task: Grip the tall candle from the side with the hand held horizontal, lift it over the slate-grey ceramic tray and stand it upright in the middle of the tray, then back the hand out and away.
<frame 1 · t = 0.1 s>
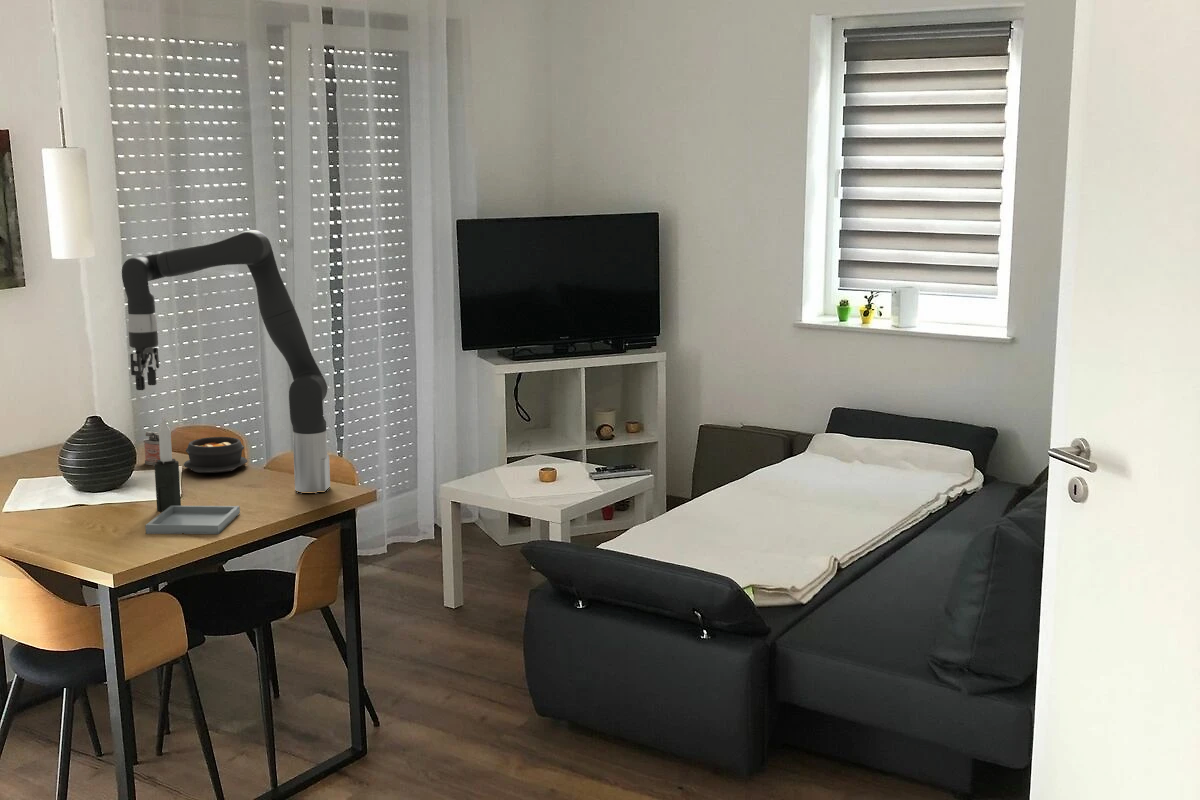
hand: (146, 387, 334), 29 cm above the table, tool pointing down, fingers open, 8 cm apart
casserole: (216, 469, 364), on the table
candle: (169, 510, 319), on the table
lighter: (156, 464, 369), on the table
tray: (194, 523, 306), on the table
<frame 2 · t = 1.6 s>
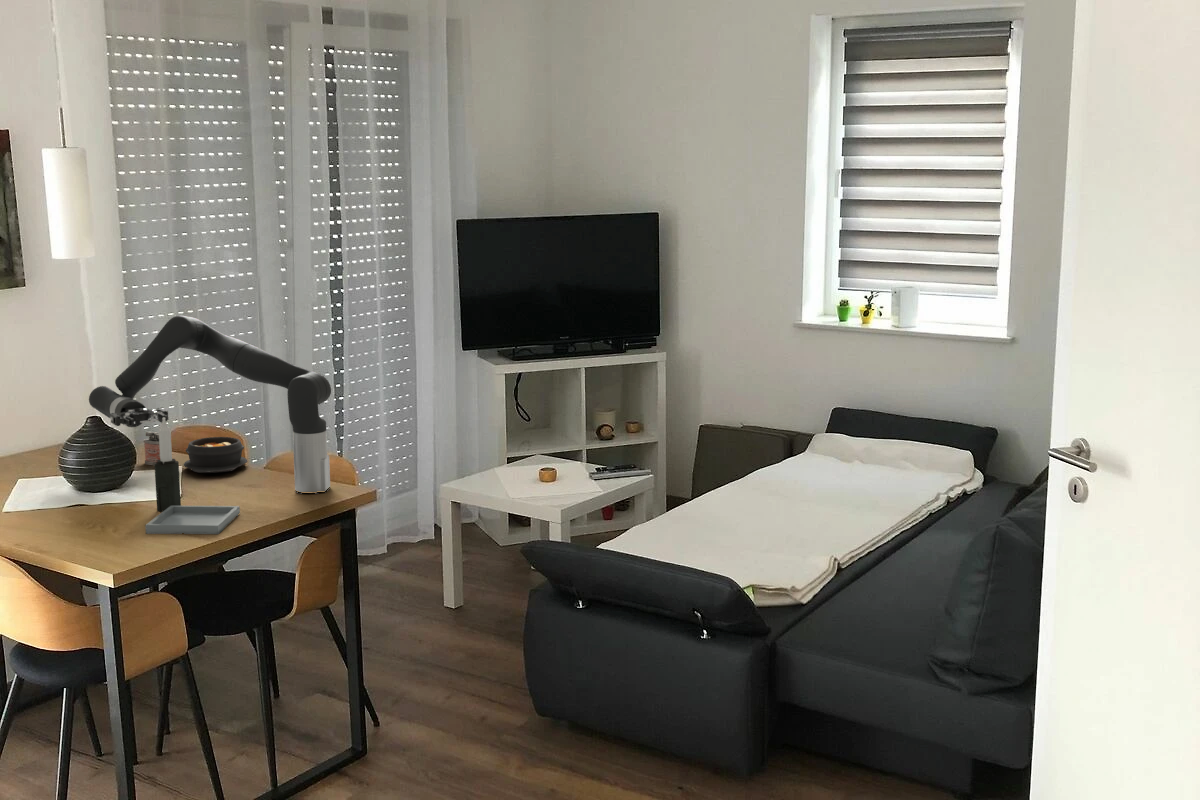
hand: (148, 421, 323), 22 cm above the table, tool horizontal, fingers open, 8 cm apart
nothing on the table moved.
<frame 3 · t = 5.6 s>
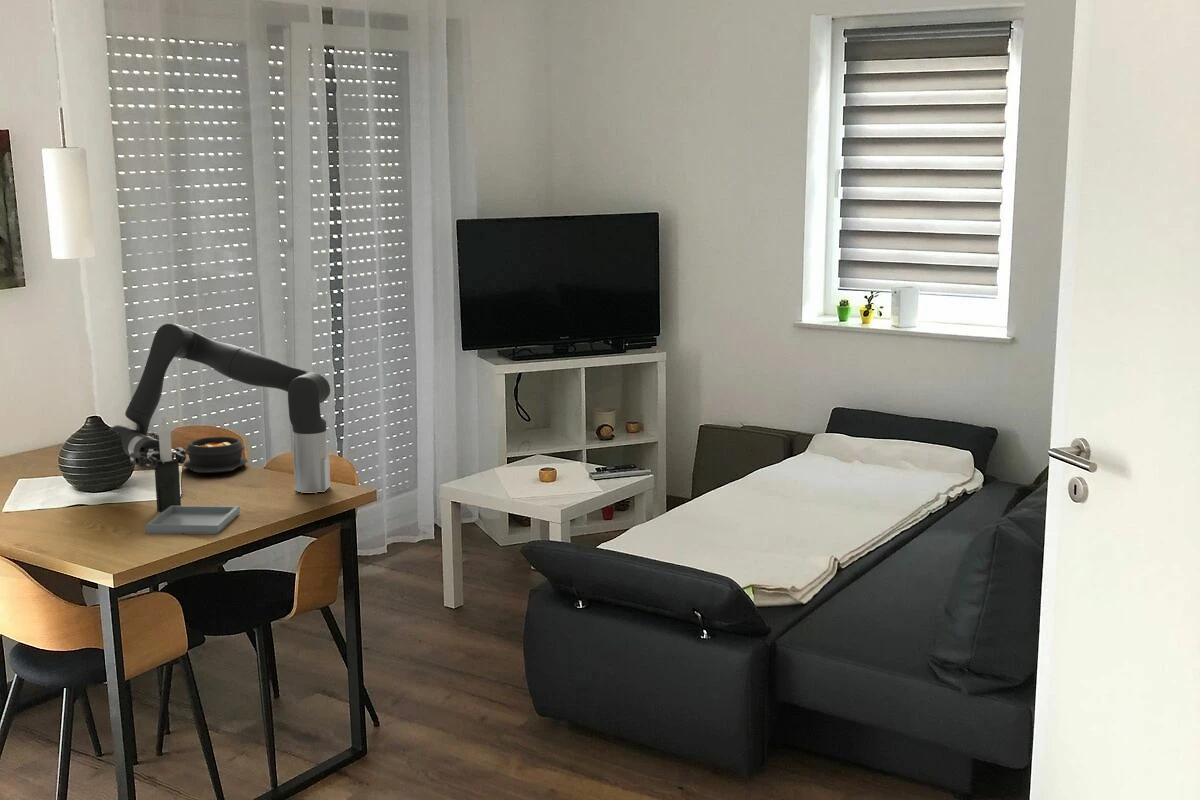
hand: (169, 461, 315), 14 cm above the table, tool horizontal, fingers closed on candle, 6 cm apart
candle: (169, 510, 319), on the table, touching gripper
everything else where it was.
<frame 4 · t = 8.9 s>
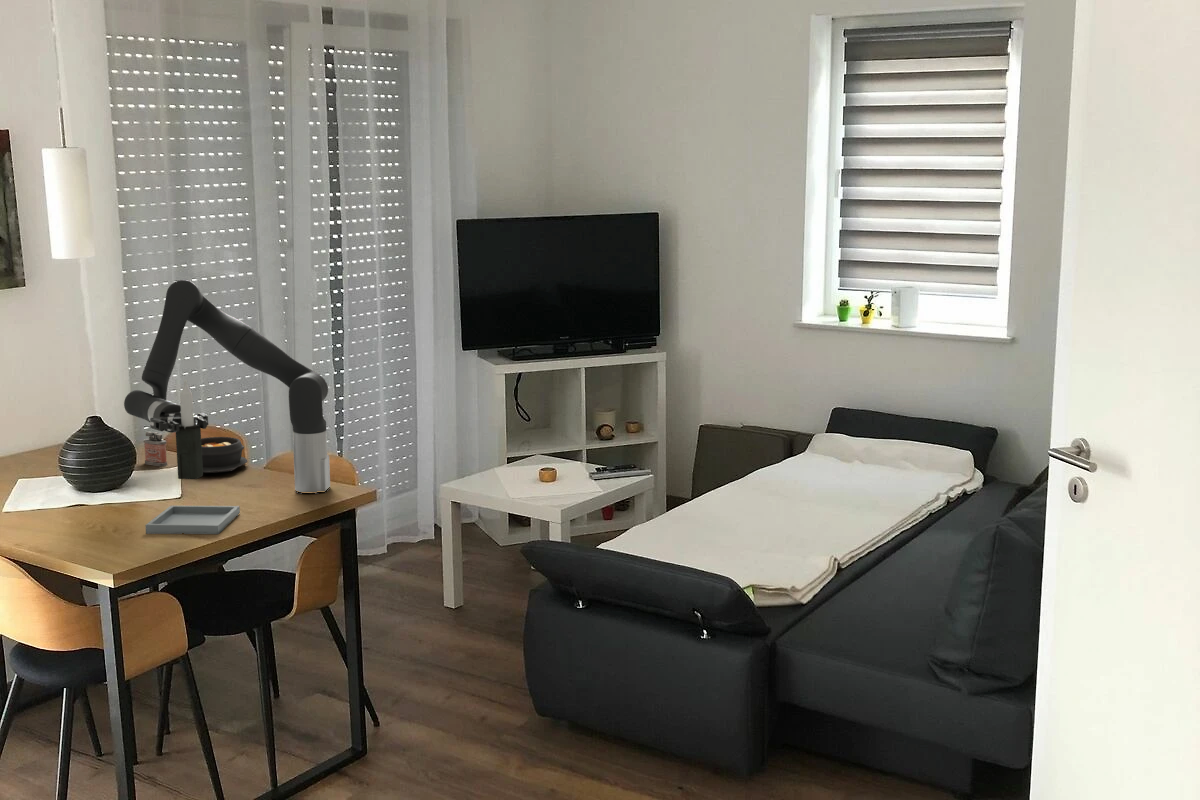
hand: (191, 426, 300), 26 cm above the table, tool horizontal, fingers closed on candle, 6 cm apart
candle: (190, 477, 304), point 12 cm above the table, touching gripper
everything else where it was.
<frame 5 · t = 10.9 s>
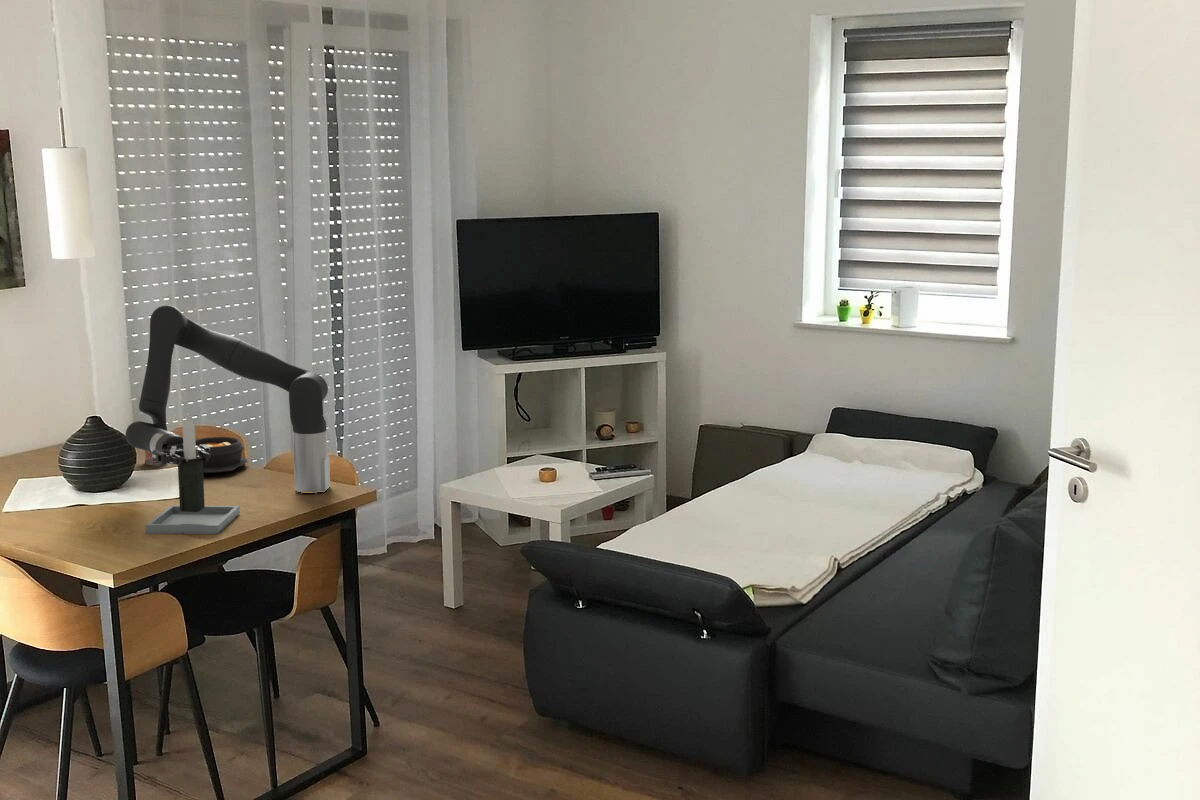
hand: (193, 459, 301), 17 cm above the table, tool horizontal, fingers closed on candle, 6 cm apart
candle: (192, 509, 306), point 4 cm above the table, touching gripper
everything else where it was.
when the fingers open (15 cm above the table, at t = 12.5 s): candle stays where it is, resting on tray.
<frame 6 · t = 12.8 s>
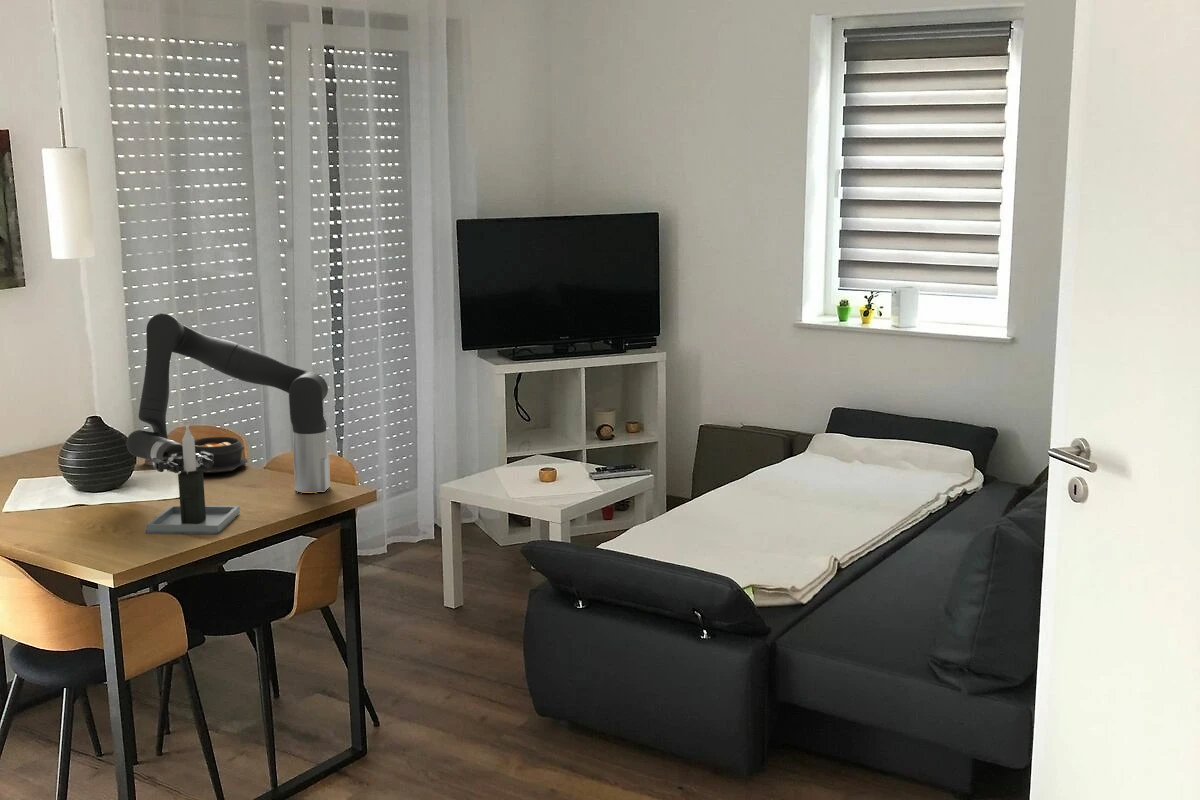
hand: (194, 466, 302), 15 cm above the table, tool horizontal, fingers open, 8 cm apart
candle: (193, 521, 306), resting on tray
everything else where it was.
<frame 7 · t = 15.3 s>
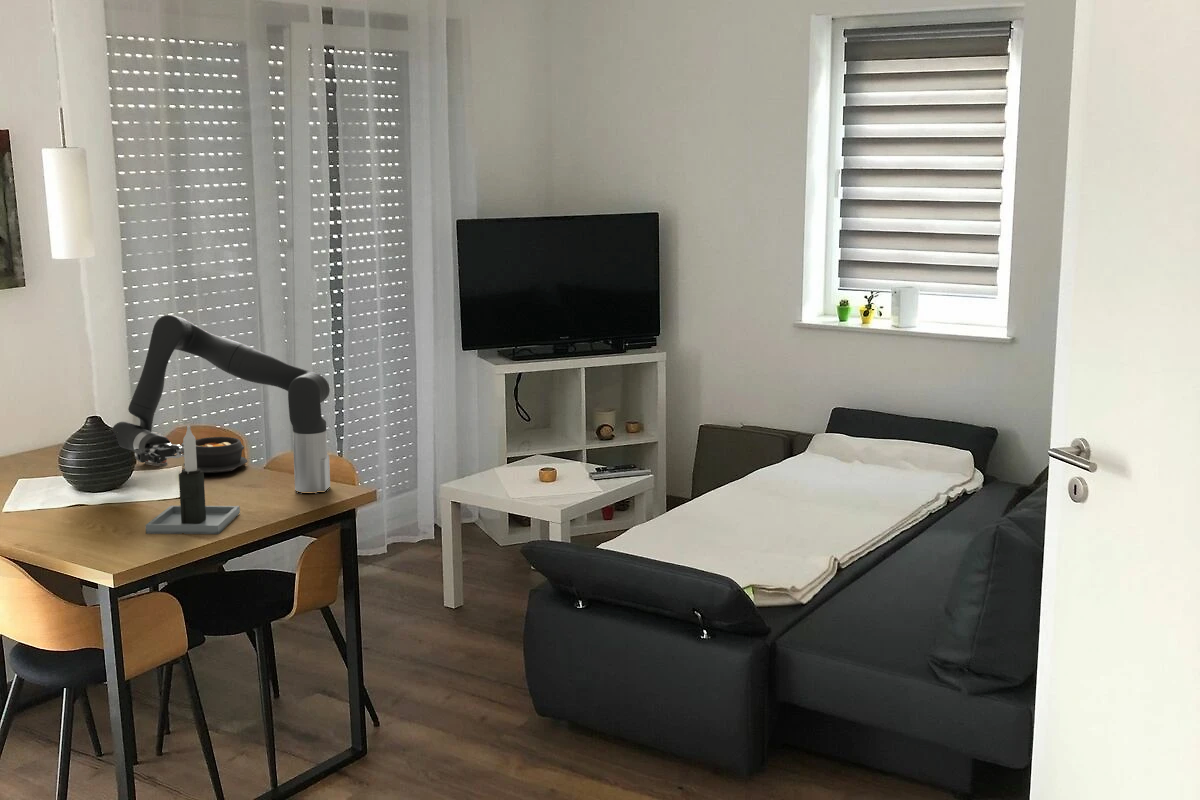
hand: (174, 457, 311), 15 cm above the table, tool horizontal, fingers open, 8 cm apart
nothing on the table moved.
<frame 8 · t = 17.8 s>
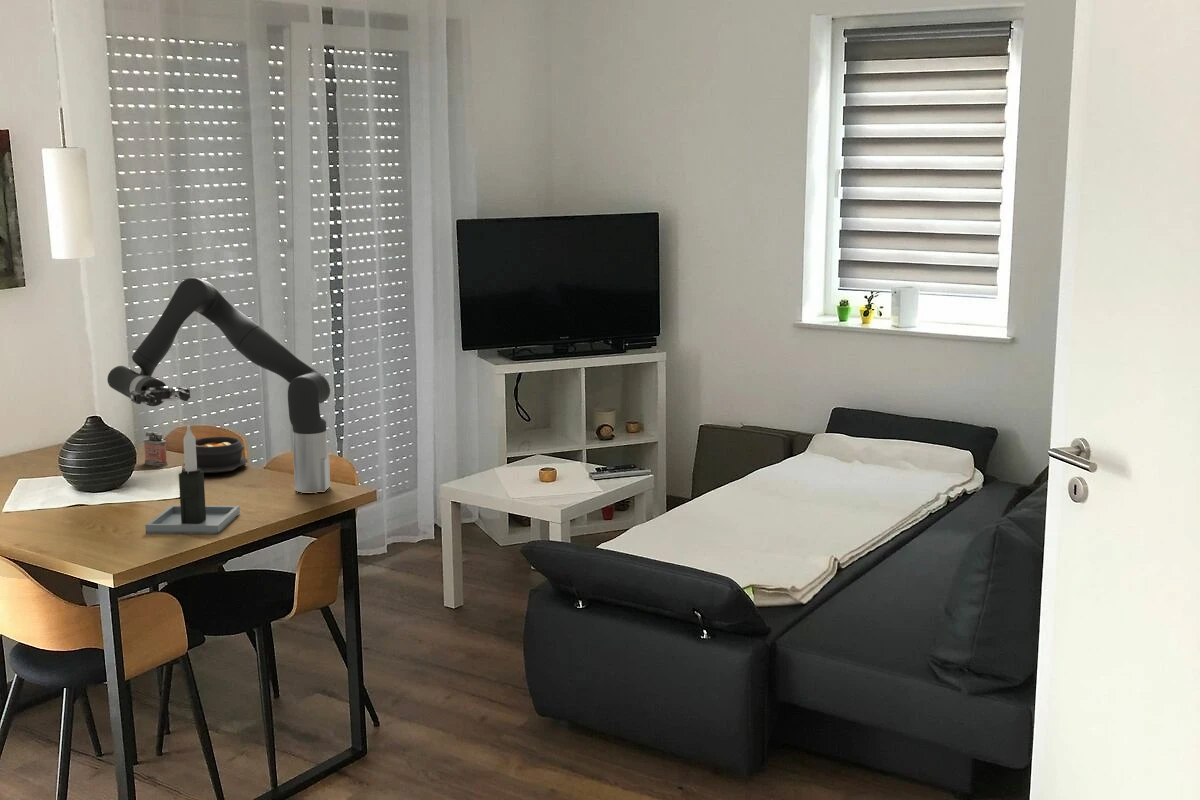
hand: (170, 398, 313), 30 cm above the table, tool horizontal, fingers open, 8 cm apart
nothing on the table moved.
at the end: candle inside the target area on the tray (0.1 cm from its centre), point 0.4 cm above the tray's base; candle tilted 0°; the gripper is holding nothing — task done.
